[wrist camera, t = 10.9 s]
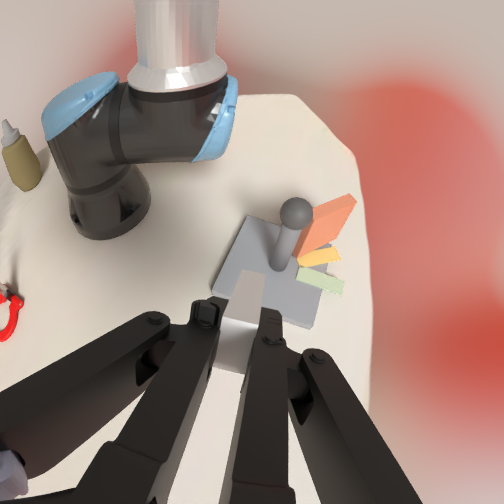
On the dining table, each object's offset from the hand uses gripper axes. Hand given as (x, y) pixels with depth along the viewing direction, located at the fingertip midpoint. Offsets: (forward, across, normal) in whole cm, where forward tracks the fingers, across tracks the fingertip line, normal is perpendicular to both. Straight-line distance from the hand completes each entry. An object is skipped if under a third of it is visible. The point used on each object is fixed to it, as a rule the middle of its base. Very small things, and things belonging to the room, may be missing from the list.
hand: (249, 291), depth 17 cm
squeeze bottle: (+26, -54, 0) cm, 60 cm away
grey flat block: (+22, +4, -5) cm, 23 cm away
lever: (+23, +6, -2) cm, 24 cm away
